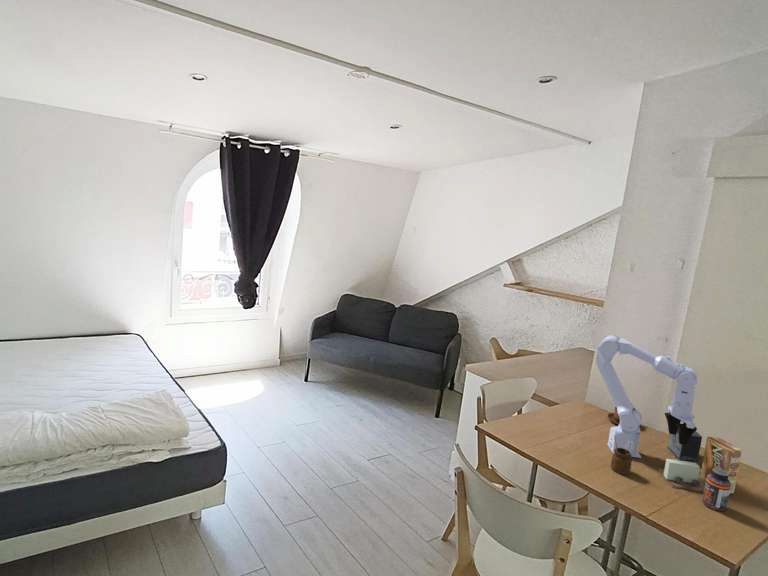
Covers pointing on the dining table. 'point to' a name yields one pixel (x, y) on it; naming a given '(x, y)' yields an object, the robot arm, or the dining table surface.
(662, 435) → the dining table surface
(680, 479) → the side panel
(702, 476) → the candy box
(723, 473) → the supplement bottle
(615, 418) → the cup and saucer
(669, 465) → the door
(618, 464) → the utensil holder
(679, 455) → the small box
